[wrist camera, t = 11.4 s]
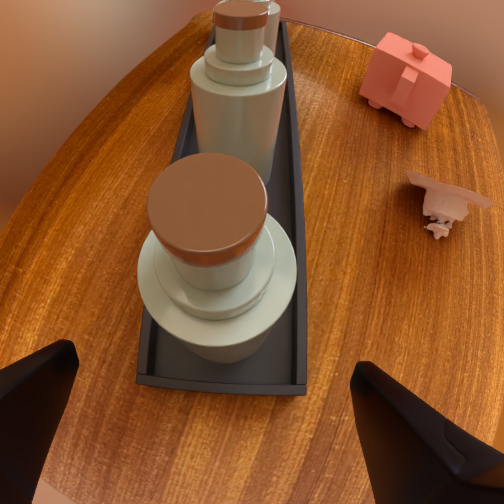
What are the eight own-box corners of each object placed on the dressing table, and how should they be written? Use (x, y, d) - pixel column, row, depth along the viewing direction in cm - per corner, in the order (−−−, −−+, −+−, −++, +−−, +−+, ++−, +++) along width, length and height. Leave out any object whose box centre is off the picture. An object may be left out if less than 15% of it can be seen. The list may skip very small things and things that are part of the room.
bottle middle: (249, 108, 26) (258, -24, 14) (206, 88, 27) (201, -32, 15) (281, 85, 27) (298, -31, 16) (240, 67, 29) (245, -41, 17)
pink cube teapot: (431, 98, 31) (456, 49, 23) (418, 148, 26) (455, 87, 19) (377, 68, 32) (396, 17, 24) (349, 110, 27) (373, 43, 20)
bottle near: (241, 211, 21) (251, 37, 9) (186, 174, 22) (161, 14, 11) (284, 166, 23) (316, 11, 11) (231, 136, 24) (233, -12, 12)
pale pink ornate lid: (402, 237, 26) (381, 203, 20) (416, 187, 26) (398, 140, 20) (481, 261, 21) (489, 231, 15) (492, 205, 21) (499, 159, 15)
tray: (299, 394, 17) (306, 395, 15) (145, 384, 17) (135, 384, 15) (284, 33, 34) (286, 20, 32) (216, 29, 34) (216, 17, 32)
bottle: (261, 371, 17) (319, 343, 5) (172, 354, 17) (57, 289, 5) (274, 287, 19) (330, 133, 7) (191, 272, 19) (139, 109, 7)
